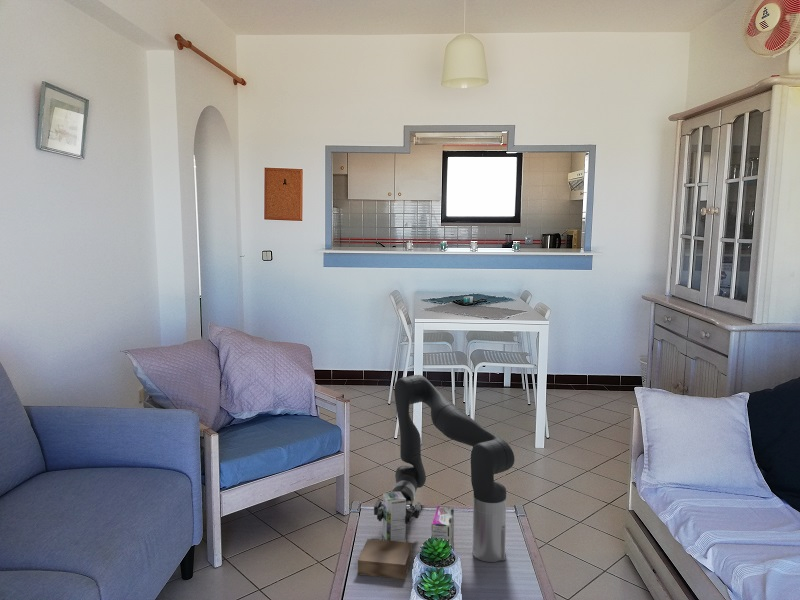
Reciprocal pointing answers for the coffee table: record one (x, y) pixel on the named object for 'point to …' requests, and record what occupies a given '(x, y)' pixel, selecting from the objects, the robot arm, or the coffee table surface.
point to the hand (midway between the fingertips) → (393, 519)
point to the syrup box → (394, 516)
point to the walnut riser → (385, 558)
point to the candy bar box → (444, 524)
